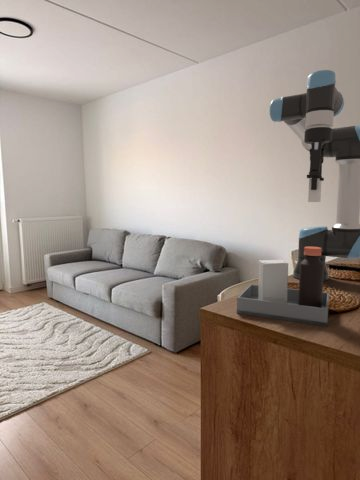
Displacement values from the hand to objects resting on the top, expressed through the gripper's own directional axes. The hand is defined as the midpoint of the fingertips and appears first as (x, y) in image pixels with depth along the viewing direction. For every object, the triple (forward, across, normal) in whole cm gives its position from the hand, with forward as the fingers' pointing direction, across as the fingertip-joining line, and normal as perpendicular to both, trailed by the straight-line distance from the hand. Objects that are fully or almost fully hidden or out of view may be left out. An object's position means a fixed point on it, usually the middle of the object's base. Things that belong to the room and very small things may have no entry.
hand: (314, 202), depth 100 cm
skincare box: (+34, 0, -11) cm, 36 cm away
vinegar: (+34, +1, 0) cm, 34 cm away
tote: (+35, 0, -8) cm, 36 cm away
